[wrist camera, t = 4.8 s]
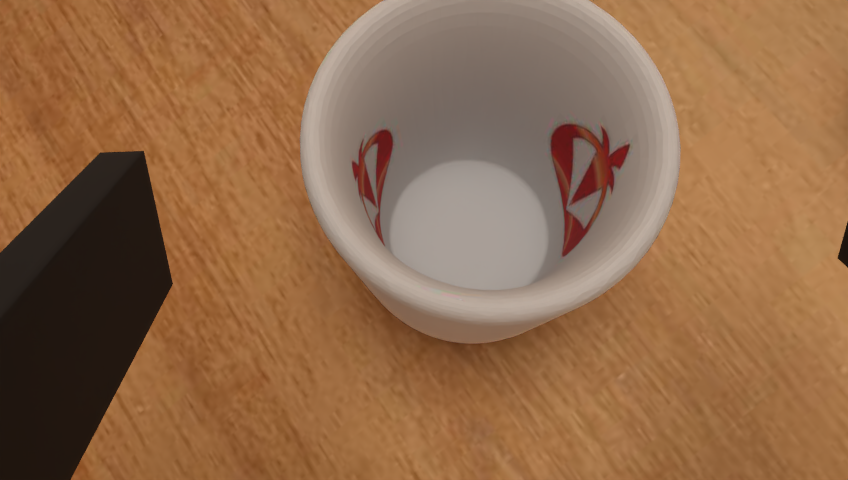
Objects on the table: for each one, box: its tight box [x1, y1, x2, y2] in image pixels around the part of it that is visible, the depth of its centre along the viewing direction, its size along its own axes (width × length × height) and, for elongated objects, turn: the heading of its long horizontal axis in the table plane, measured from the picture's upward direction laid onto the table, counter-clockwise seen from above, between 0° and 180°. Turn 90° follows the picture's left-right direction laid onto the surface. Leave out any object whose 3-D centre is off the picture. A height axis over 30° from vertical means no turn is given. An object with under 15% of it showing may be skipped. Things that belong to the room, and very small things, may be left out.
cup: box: [300, 0, 680, 344], centre depth 19 cm, size 11×8×8 cm
